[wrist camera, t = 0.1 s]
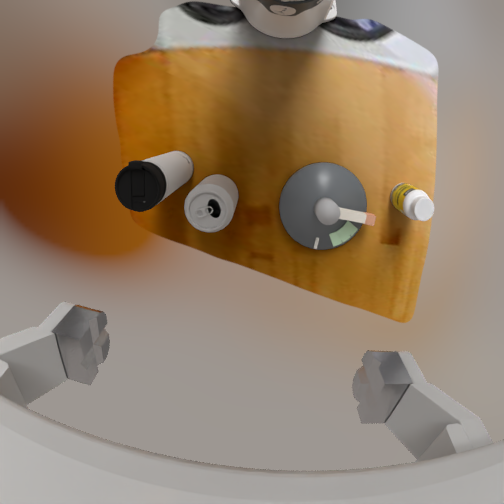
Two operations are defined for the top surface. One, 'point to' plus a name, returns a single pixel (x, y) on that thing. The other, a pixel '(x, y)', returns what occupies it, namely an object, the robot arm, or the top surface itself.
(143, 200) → the travel mug
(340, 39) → the top surface
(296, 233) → the dial plate
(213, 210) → the can
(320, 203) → the needle
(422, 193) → the supplement bottle
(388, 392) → the robot arm
